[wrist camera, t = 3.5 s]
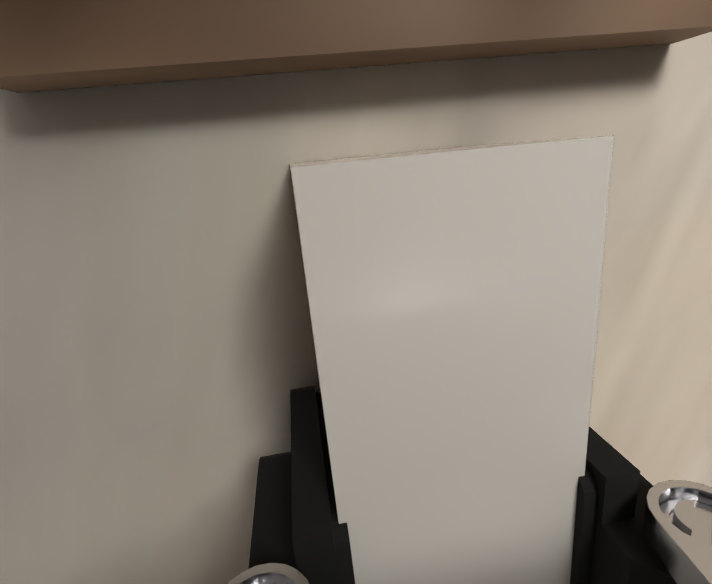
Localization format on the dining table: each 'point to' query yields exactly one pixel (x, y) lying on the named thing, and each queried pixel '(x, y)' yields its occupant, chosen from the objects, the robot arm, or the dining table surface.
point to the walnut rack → (307, 35)
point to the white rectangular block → (457, 351)
